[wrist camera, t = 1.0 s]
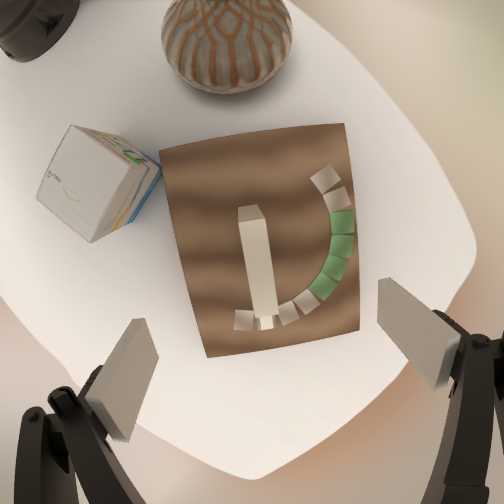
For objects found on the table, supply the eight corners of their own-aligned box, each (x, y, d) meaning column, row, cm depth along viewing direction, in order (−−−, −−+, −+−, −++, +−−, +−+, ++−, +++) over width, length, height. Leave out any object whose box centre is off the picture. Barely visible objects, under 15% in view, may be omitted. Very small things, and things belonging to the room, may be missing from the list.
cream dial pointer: (238, 205, 32) (238, 222, 21) (255, 202, 32) (265, 218, 21) (259, 328, 37) (267, 387, 26) (274, 325, 37) (288, 383, 26)
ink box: (166, 168, 33) (134, 167, 22) (131, 224, 35) (90, 247, 24) (116, 133, 31) (69, 122, 20) (84, 188, 33) (32, 199, 22)
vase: (227, 126, 32) (217, 84, 15) (156, 64, 29) (101, -1, 12) (302, 62, 30) (349, -9, 13) (230, 4, 27) (228, -81, 10)
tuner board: (163, 151, 32) (158, 150, 30) (338, 125, 32) (344, 122, 30) (208, 350, 40) (207, 359, 38) (354, 323, 40) (360, 331, 38)
